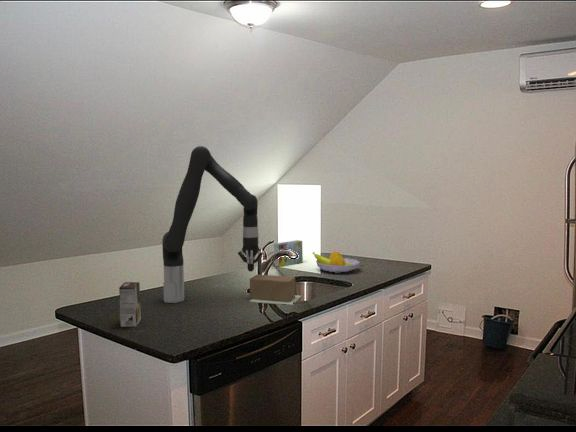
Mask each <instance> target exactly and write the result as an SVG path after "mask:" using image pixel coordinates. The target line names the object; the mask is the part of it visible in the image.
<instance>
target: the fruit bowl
mask: <svg viewBox="0 0 576 432" xmlns="http://www.w3.org/2000/svg"><path fill="white" fill-rule="evenodd" d="M312 255H313V256H314V257H315V259H316V260H315V262H316V265H317V267H318V268H319V269H321V270H323V271H325V272H327V271H329V273H332V272H335V273H334V274H342V273H341V272H345V273H349V271H350V272H351V271H354V270H356V268H357V267H358V266H359V264H360V261H359V260H357V259H352V258H347V257H346V258H344V257H343V255H342V254H341V253H340V252H339V251H333V252H331V254H330V255H329V256H328V257H325V256H322V255H321V254H317V253H315V252H314V251H313V252H312Z"/></svg>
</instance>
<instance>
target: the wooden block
mask: <svg viewBox="0 0 576 432" xmlns="http://www.w3.org/2000/svg"><path fill="white" fill-rule="evenodd" d="M295 295H296V277H295V276H285V275H282V276H281V275H271V274H270V275H269V274H256V275H254V276H252V277H251V278H249V299H250V300H251V299H258V300H270V301H282V302H290V301H291V300H292V299H293V298H294V297H295Z"/></svg>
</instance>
